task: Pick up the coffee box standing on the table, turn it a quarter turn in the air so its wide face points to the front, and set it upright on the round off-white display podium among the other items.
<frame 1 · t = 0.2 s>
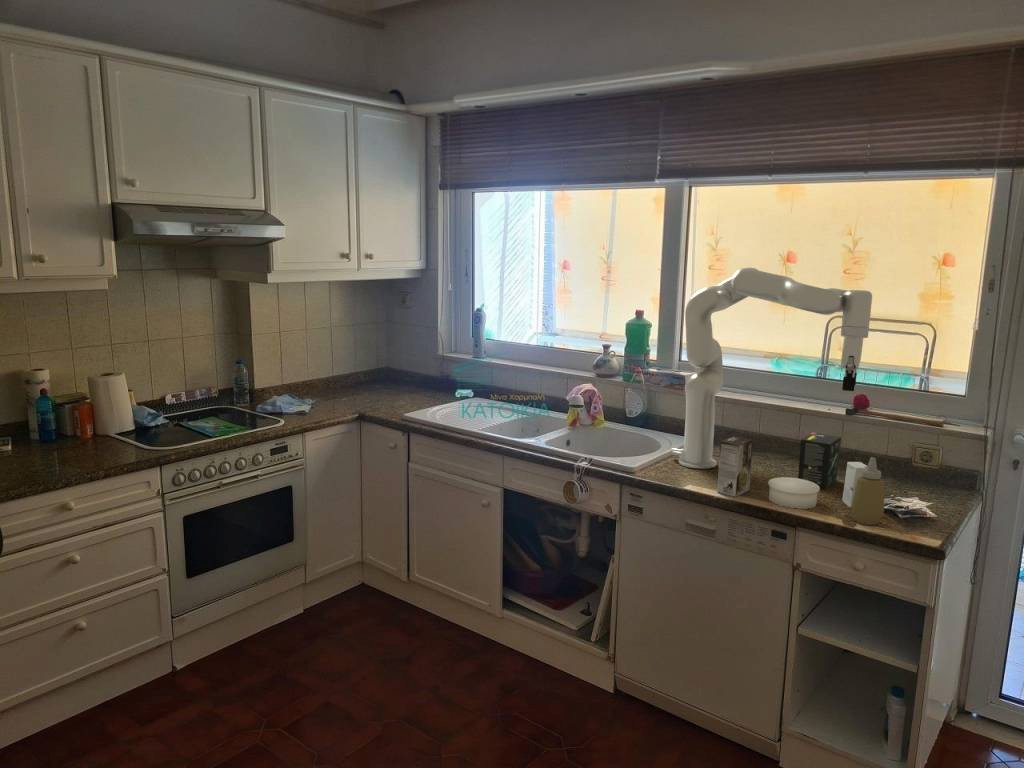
hand: (848, 387, 226), 31 cm above the worktop, tool pointing down, fingers open, 9 cm apart
tampon box: (816, 482, 236), on the worktop
squeeze bottle: (866, 522, 202), on the worktop
coffee box: (733, 492, 225), on the worktop
skincare box: (853, 505, 215), on the worktop
podium: (792, 501, 218), on the worktop
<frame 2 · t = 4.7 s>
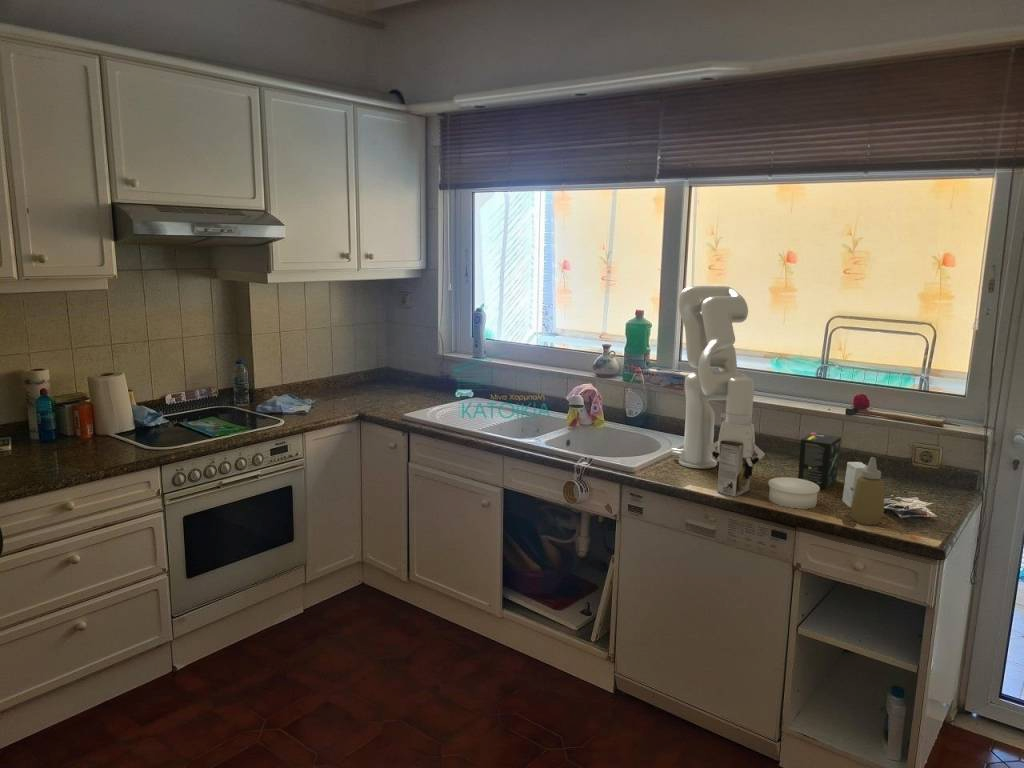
hand: (734, 475, 224), 5 cm above the worktop, tool pointing down, fingers closed on coffee box, 7 cm apart
coffee box: (733, 492, 225), on the worktop, touching gripper
everything else where it was.
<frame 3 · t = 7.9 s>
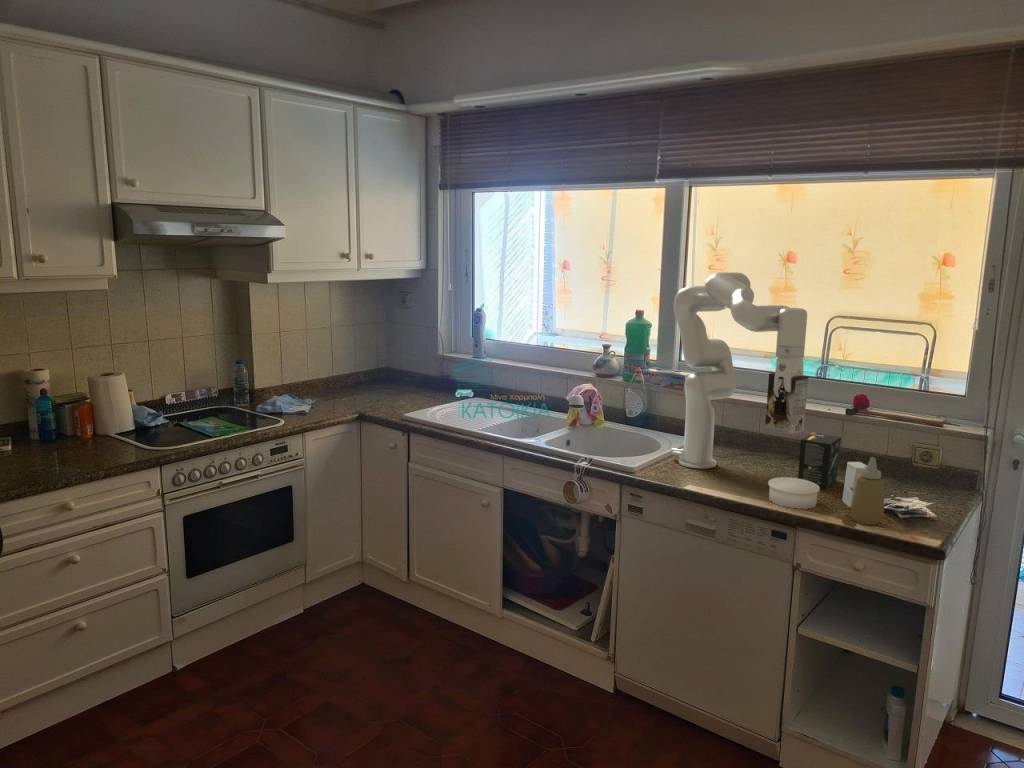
hand: (785, 412, 214), 26 cm above the worktop, tool pointing down, fingers closed on coffee box, 7 cm apart
coffee box: (784, 430, 215), point 21 cm above the worktop, touching gripper
everything else where it was.
when the fingers open (11 cm above the worktop, at t = 11.6 s): coffee box drops 1 cm, resting on podium.
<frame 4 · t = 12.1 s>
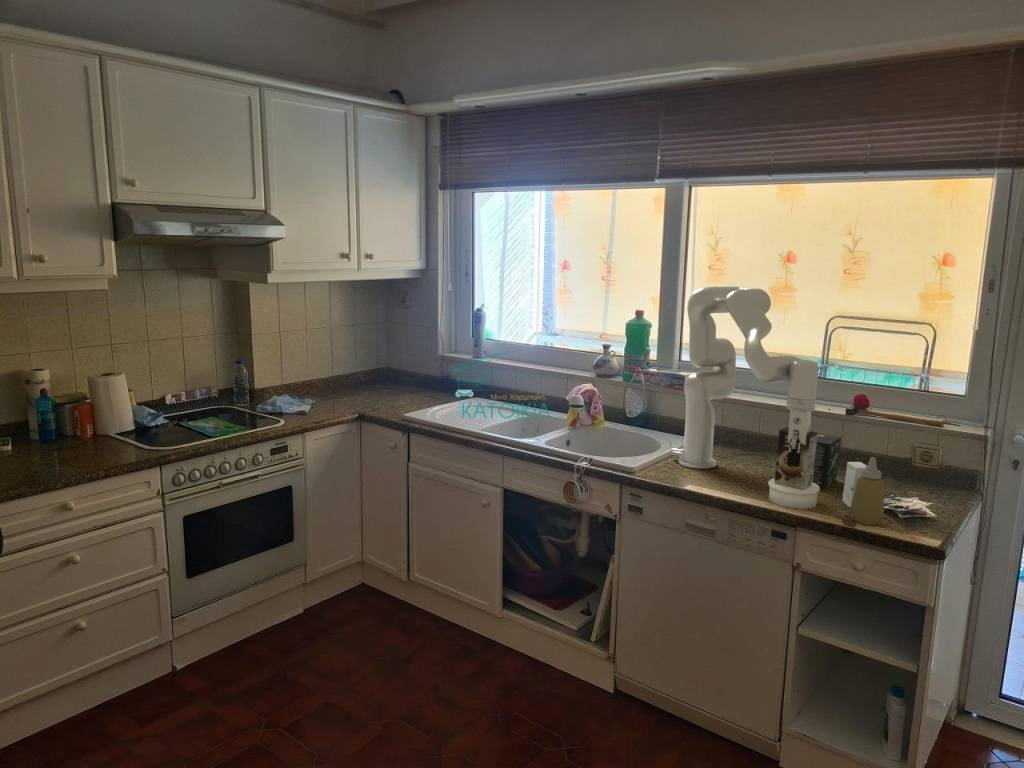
hand: (795, 461, 215), 12 cm above the worktop, tool pointing down, fingers open, 9 cm apart
coffee box: (793, 485, 217), point 5 cm above the worktop, touching podium
everything else where it was.
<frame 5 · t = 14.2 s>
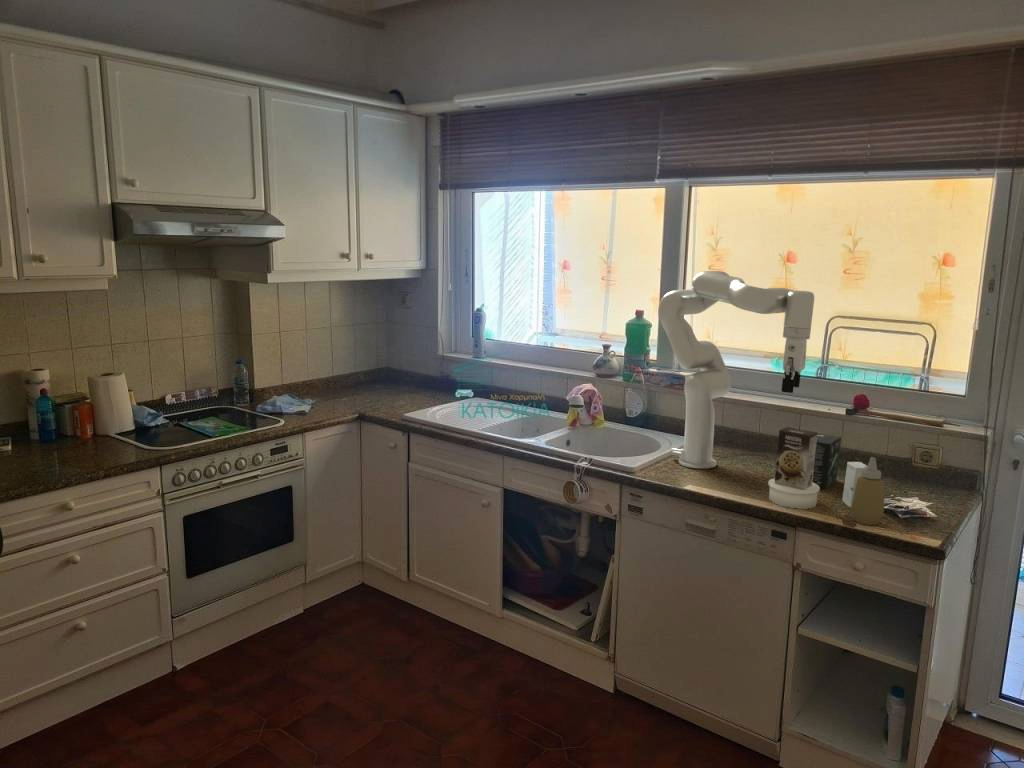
hand: (790, 389, 224), 31 cm above the worktop, tool pointing down, fingers open, 9 cm apart
nothing on the worktop moved.
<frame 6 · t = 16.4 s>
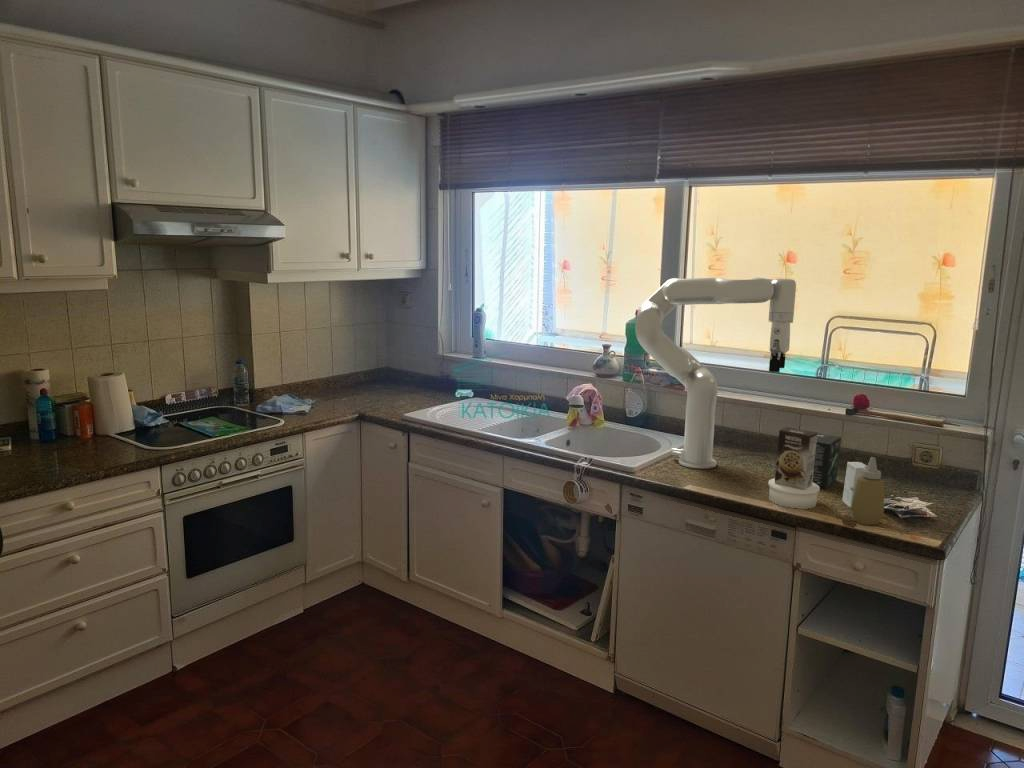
hand: (776, 369, 244), 33 cm above the worktop, tool pointing down, fingers open, 9 cm apart
nothing on the worktop moved.
at the end: coffee box inside the target area on the podium (0.1 cm from its centre), point 4.8 cm above the podium's base; coffee box tilted 0°; the gripper is holding nothing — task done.
